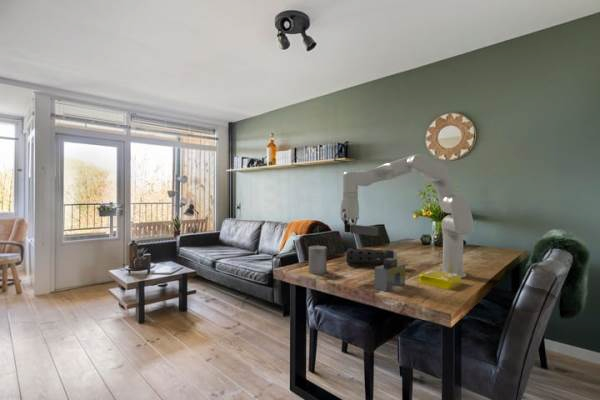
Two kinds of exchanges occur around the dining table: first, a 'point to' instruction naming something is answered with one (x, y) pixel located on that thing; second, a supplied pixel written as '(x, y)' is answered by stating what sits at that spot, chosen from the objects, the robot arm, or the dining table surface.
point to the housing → (389, 275)
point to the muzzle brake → (368, 257)
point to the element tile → (440, 279)
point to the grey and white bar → (362, 229)
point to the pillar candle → (317, 260)
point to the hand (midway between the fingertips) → (350, 231)
